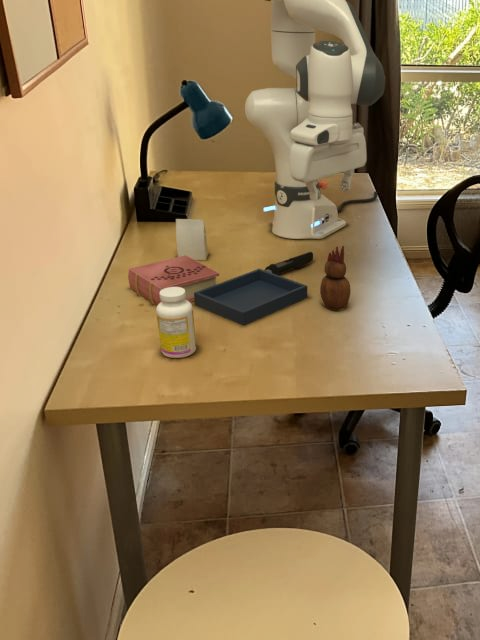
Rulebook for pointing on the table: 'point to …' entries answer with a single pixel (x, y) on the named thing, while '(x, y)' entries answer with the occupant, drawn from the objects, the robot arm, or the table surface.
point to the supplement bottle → (175, 323)
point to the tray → (250, 296)
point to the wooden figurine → (335, 282)
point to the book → (171, 277)
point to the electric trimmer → (290, 264)
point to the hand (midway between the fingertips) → (330, 194)
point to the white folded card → (191, 238)
